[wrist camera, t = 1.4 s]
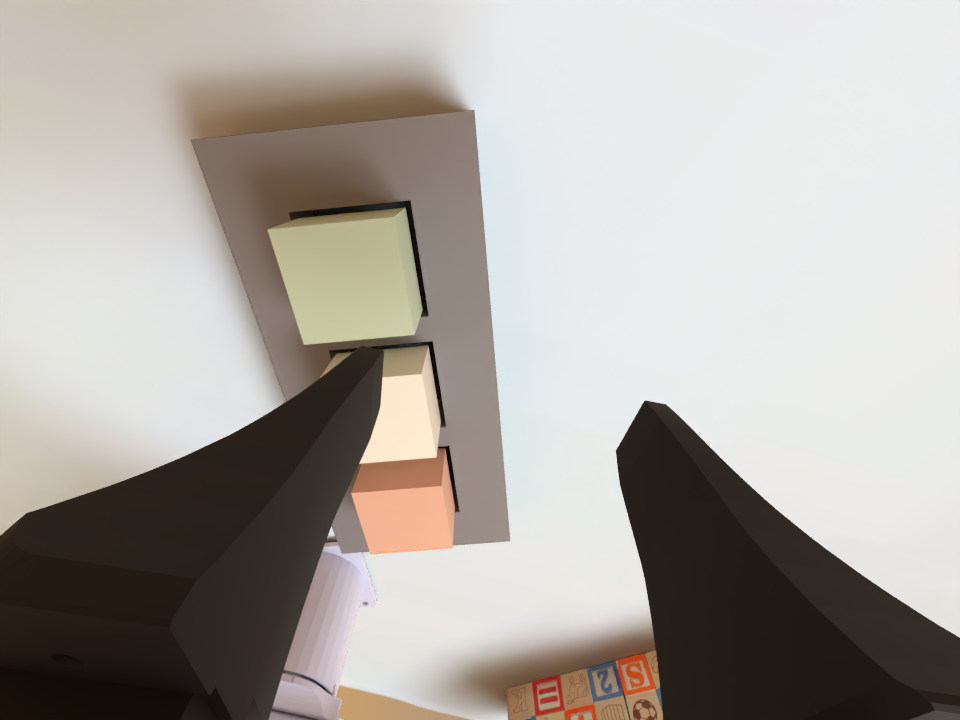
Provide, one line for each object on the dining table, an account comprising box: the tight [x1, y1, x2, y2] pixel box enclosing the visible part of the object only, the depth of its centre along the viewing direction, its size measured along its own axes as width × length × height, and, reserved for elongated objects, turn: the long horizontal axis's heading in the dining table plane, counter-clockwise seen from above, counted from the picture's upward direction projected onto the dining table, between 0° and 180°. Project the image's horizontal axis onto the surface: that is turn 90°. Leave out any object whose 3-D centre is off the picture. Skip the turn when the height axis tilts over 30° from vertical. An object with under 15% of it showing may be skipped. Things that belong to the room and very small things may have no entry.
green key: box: [267, 207, 422, 345], centre depth 18 cm, size 5×5×3 cm
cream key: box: [320, 345, 441, 464], centre depth 22 cm, size 5×5×3 cm
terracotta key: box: [351, 448, 455, 554], centre depth 25 cm, size 5×5×3 cm
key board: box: [191, 110, 510, 554], centre depth 24 cm, size 12×26×3 cm, turn 5°
